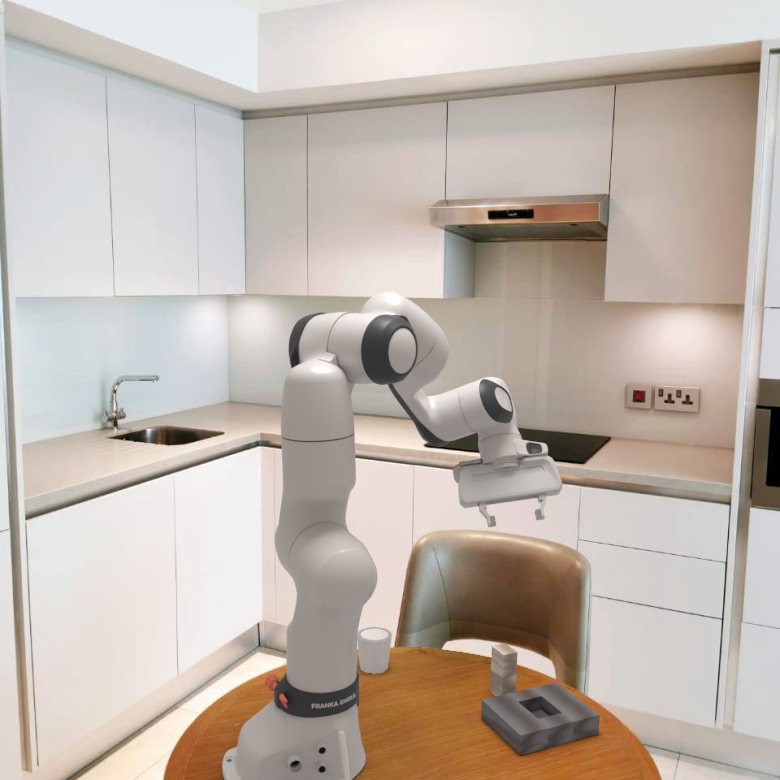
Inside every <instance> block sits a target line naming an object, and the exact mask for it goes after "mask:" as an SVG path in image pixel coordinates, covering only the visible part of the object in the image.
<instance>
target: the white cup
mask: <svg viewBox="0 0 780 780" xmlns="http://www.w3.org/2000/svg"><path fill="white" fill-rule="evenodd" d="M392 634H393V633H392V632H391V631H390V630H388V629H387V628H383V627H377V626H376V627H375V626H372V627H366V628H362V629H360V630H358V638H357V652H358V660H359V661H358V662H359V669H360V670H361V671H362V672H363V671H364V672H363V673H365V672H367V673H366V674H368V673H372V674H371V675H377V674H376V673H380V674H382V673H381V672H383V673H385V672H386V671H388V669H387V668H389V663H390V654H391V645H392V638H393V637H392V636H393V635H392ZM385 670H386V671H385ZM384 671H385V672H384Z"/></svg>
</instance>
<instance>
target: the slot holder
mask: <svg viewBox="0 0 780 780" xmlns="http://www.w3.org/2000/svg"><path fill="white" fill-rule="evenodd" d="M480 716H481V717H480V718H481V720H482V721H483V722H484V723H485V724H487V726H489V728H490V729H491V730H493V732H495V733H496V734H497V736H498V737H500V738H501V739H502V740H503V741H504V742H505V743H506V744H507V745H508V746H509V747H510V748H511V749H512V750H513V752H515V753H516V754H517V755H518V756H523V755H527V754H531V753H534V752H538V751H541V750H546V749H549V748H554V747H556V746H560V745H564V744H567V743H571V742H575V741H579V740H581V739H585V738H589V737H593V736H596V735H599V731H600V729H599V728H600V716H601V715H600V714H599V713H597V711H595V710H594V709H592V708H591V707H590V706H588V705H587V704H586V703H584V701H582V700H581V699H579V697H577V696H575V695H574V694H573V693H572V692H570V690H568V689H566V688H565V687H564V686H562V685H561V684H560V683H559V682H553V683H547V684H543V685H540V686H539V685H538V686H536V687H530V688H526V689H522V690H518V691H517V690H516V692H513V693H509V694H505V695H500V696H492V697H489V698H488V697H487V698H483V699H481V715H480Z"/></svg>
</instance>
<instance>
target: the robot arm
mask: <svg viewBox="0 0 780 780" xmlns="http://www.w3.org/2000/svg"><path fill="white" fill-rule="evenodd" d="M448 340H449V339H448V337H447V335H446V334H445V332H444V331H443V329H442V328H441V327H440V325H439V324H438V323H437V322H436V320H434V319H433V318H432V317H431V315H429V314H428V313H427V312H426V311H425V310H424V309H422V307H420V306H419V305H418V304H416V303H415V302H413V301H412V300H410V299H409V298H407V297H406V296H404V295H403V294H400V293H398V292H395V291H388V290H387V291H382V292H379V293H376V294H374V295H373V296H371V297H370V298H369V299H368V300H367V301H365V303H364V304H363V306H362V307H361V309H360V311H359V312H355V311H337V312H329V313H327V312H315V313H311V314H308V315H306V316H303V317H301V318H299V320H297V321H296V323H295V324H294V325H293V328H292V330H291V333H290V336H289V340H288V357H289V364H290V368H291V369H289V371H288V372H287V374H286V376H285V379H284V383H283V384H284V385H283V388H282V389H283V390H282V399H281V410H280V411H281V412H280V439H281V443H280V444H281V461H282V463H281V464H282V467H281V468H282V494H281V503H280V511H279V516H278V517H279V518H278V525H277V526H276V530H275V533H274V546H275V550H276V555H277V559H278V561H279V563H280V565H281V566H282V567H283V569H284V570H285V571H286V572H287V573H288V574H289V576H290V577H291V578H292V580H293V582H294V585H295V591H296V602H295V607H294V612H293V617H292V619H291V621H290V623H288V626H287V628H286V671H285V672H284V675H283V677H282V679H280V680H279V679H278V676H277V675H276V674H273V673H270V674H268V675H267V676H266V678H265V680H264V682H265V685H266V687H267V689H268V690H269V691H270V692H273V699H272V700H270V702H269V703H267V704H266V705H265V706H264V707H263V708H261V709H260V710H259V711H258V712H257V713H256V714H254V715H253V716H252V717H250V719H248V720H246V721H245V722H244V724H243V725H242V727H241V729H240V732H239V734H238V740H237V744H236V746H235V747H232V748H231V749H228V750H226V752H225V754H224V756H223V758H222V766H221V773H222V778H223V780H353V779H355V777H356V776H358V775H359V774H360V772H361V771H362V770H363V768H364V767H365V765H366V761H367V760H366V759H367V756H366V752H365V748H364V745H363V741H362V737H361V729H360V722H359V711H358V707H359V706H360V697H361V696H360V695H361V682H360V674H359V672H358V639H357V638H358V632H359V626H360V620H361V617H362V613H363V609H364V605H365V604H366V603H367V602H368V601H369V600H370V599H371V597H372V596H373V595H374V593H375V590H376V588H377V584H378V569H377V565H376V563H375V562H374V559H373V557H372V556H371V554H370V552H369V550H368V548H367V547H366V545H365V544H364V543H363V542H362V540H360V539H358V538H357V537H356V536H354V535H353V534H352V533H351V532H350V531H349V529H348V525H347V522H346V521H347V518H346V517H347V515H346V514H347V509H348V502H349V499H350V496H351V495H350V494H351V492H352V490H353V489H354V488H355V486H356V483H357V473H356V472H357V471H356V469H357V468H356V467H357V466H356V440H355V438H356V437H355V418H354V409H353V402H352V401H353V400H352V397H351V396H352V392H353V390H354V387H355V385H369V384H376V385H380V386H385V385H386V386H387V387H388V388H389V390H390V392H391V393H392V395H393V396H394V398H395V400H396V401H397V402H398V403H399V405H400V406H401V407H402V409H403V410H404V411H405V413H406V414H407V415H408V417H409V418H410V420H411V421H412V423H413V424H414V426H415V428H416V429H417V433H418V434H419V435H420V437H421V439H422V440H423V441H424V442H426V443H428V444H430V445H432V446H434V447H436V448H441V447H443V446H445V445H447V444H451V443H453V442H454V441H456V440H459V439H462V438H465V437H468V436H471V435H474V434H477V435H478V437H477V438H478V441H477V446H478V451H479V456H480V458H475V459H471V460H462V461H459V463H457V464H455V465H454V467H453V468H452V476H453V480H454V481H455V482H456V483H457V484H458V502H459V505H460V506H461V507H463V508H464V509H469V508H476V507H478V512H479V513H480V514H481V515H482V517H484V519H485V520H486V522H487V527H488V528H494V527H496V526H497V521H496V516H495V515H491V514H490V513H489V512H488V511H487V508H488V506H490V505H497V504H505V503H512V502H517V501H526V500H532V499H537V502H538V504H540V506H539V508H537V509H535V510H534V516H535V520H536V521H542V520H545V519H546V518H545V512H544V509H545V506H546V503H547V500H548V499H547V497H553V496H557V495H560V493H561V491H562V490H563V481H562V478H561V474H560V472H559V469H558V466H557V464H556V462H555V460H554V459H553V458H552V457H551V456H550V455H548V454H549V447H548V445H547V444H546V443H544V442H537V441H531V440H526V439H523V438H522V437H523V436H522V435H521V433H520V431H519V428H518V414H517V411H516V407H515V403H514V401H513V398H512V394H511V392H510V389H509V387H508V385H507V383H506V382H505V380H503V379H501V378H499V377H496V376H485V377H481V378H479V379H477V380H475V381H472V382H469V383H466V384H463V385H460V386H459V387H456V388H453V389H450V390H448V391H445V392H442V393H440V394H439V393H438V394H436V395H426V394H425V392H424V390H422V389H423V388H424V387H426V386H427V385H429V384H431V383H432V382H434V381H435V380H436V379H437V378H438V377H439V376H440V375H441V374H442V373H443V371H444V369H445V367H446V365H447V363H448V359H449V354H450V346H449V341H448Z"/></svg>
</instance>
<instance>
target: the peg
mask: <svg viewBox="0 0 780 780" xmlns="http://www.w3.org/2000/svg"><path fill="white" fill-rule="evenodd" d="M490 663H491V664H490V691H491V694H492V695H493V696H494V697H496V696H500V695H505V694H509V693H513V692H517V676H518V675H517V672H518V651H517V650H515V649H514V648H513V647H512V646H510V645H508V643H506V642H505V643H501V644H500V643H498V644H496V645H492V646H491V661H490ZM490 691H489V692H490Z"/></svg>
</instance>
